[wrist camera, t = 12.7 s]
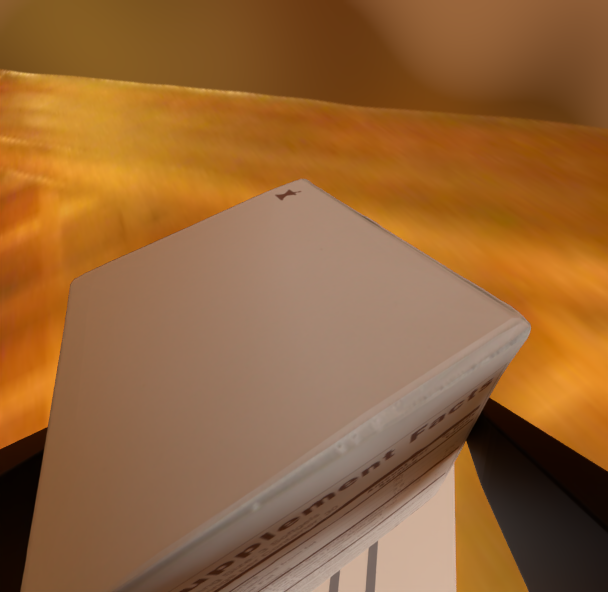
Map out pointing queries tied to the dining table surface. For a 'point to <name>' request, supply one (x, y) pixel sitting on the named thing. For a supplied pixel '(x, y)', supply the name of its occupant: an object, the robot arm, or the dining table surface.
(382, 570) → the letter
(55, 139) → the dining table surface
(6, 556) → the robot arm
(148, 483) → the supplement box
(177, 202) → the dining table surface
